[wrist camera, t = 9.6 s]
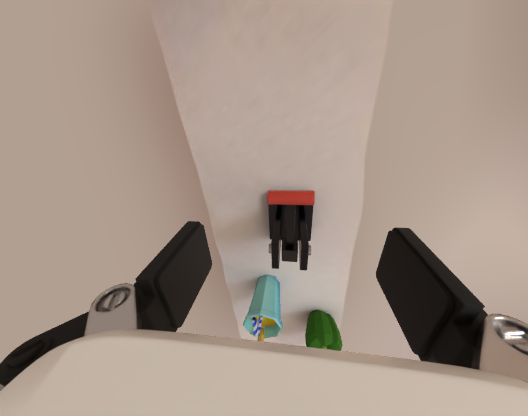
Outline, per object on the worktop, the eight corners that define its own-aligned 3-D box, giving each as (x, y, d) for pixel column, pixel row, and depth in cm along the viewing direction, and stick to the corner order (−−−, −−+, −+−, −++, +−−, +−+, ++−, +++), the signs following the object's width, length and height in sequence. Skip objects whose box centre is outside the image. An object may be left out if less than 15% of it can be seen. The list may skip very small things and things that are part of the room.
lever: (268, 185, 22) (266, 199, 20) (313, 185, 21) (315, 199, 19) (273, 247, 30) (272, 260, 29) (306, 248, 30) (306, 262, 28)
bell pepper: (328, 302, 47) (337, 348, 38) (341, 322, 50) (352, 368, 41) (297, 310, 50) (298, 354, 41) (311, 328, 52) (315, 373, 44)
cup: (248, 257, 43) (229, 322, 30) (282, 257, 42) (278, 326, 29) (255, 298, 50) (242, 367, 36) (285, 300, 48) (283, 372, 35)
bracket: (268, 191, 35) (258, 226, 25) (313, 191, 34) (322, 228, 24) (270, 235, 40) (262, 281, 29) (309, 237, 39) (316, 285, 28)
